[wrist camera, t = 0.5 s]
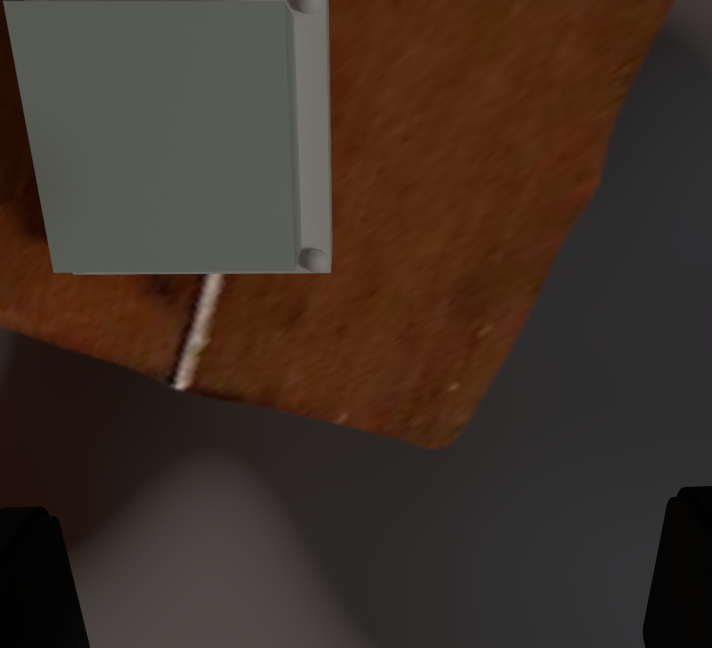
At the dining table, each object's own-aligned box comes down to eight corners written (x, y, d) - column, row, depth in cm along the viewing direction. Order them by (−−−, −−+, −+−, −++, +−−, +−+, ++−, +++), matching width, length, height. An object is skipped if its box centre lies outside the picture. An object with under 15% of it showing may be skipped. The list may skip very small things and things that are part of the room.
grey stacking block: (68, -2, 32) (-45, -44, 23) (328, -1, 32) (321, -43, 23) (107, 252, 37) (26, 303, 28) (332, 251, 37) (328, 301, 28)
